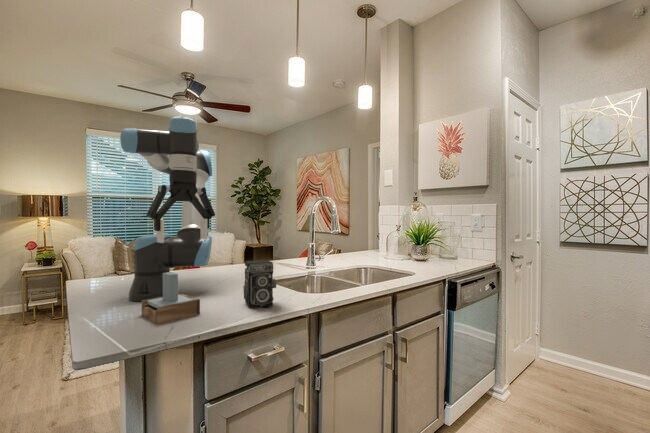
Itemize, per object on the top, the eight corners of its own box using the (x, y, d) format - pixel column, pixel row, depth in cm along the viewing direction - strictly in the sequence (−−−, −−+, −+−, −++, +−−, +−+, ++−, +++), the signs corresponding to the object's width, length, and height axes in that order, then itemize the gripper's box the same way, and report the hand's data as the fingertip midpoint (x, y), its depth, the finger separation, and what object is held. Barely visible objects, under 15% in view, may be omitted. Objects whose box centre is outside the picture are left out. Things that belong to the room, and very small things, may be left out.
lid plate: (147, 303, 95) (147, 273, 95) (178, 297, 102) (178, 269, 102) (160, 310, 89) (160, 278, 89) (193, 302, 96) (193, 273, 96)
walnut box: (141, 317, 95) (141, 300, 95) (181, 308, 104) (181, 292, 104) (158, 326, 87) (158, 308, 87) (199, 315, 97) (199, 299, 97)
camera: (246, 312, 99) (246, 265, 99) (241, 304, 109) (241, 260, 109) (279, 309, 104) (279, 263, 104) (271, 300, 113) (271, 258, 113)
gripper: (145, 164, 84) (145, 245, 84) (226, 173, 103) (226, 238, 104) (132, 166, 88) (133, 243, 89) (212, 174, 108) (212, 237, 108)
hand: (183, 240), depth 96 cm, fingers open, 13 cm apart
